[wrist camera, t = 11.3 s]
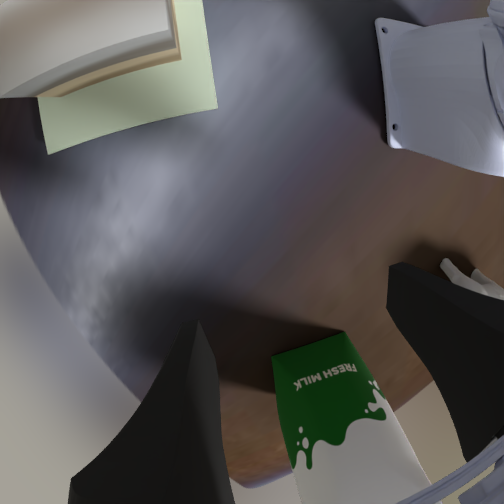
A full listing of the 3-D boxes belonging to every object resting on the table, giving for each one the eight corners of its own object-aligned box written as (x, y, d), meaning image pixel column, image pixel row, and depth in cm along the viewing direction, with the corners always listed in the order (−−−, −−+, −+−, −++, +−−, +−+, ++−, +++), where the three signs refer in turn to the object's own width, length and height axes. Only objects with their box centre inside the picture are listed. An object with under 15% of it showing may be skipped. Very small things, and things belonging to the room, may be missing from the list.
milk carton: (278, 403, 29) (326, 573, 11) (258, 351, 25) (319, 584, 7) (355, 376, 29) (429, 532, 11) (353, 319, 25) (467, 519, 7)
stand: (216, 108, 16) (217, 108, 14) (62, 149, 15) (48, 154, 13) (193, -53, 10) (192, -67, 8) (47, -7, 9) (34, -15, 8)
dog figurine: (473, 309, 29) (524, 363, 19) (411, 302, 25) (475, 379, 16) (493, 272, 26) (550, 322, 17) (436, 254, 23) (515, 323, 14)
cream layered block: (181, 60, 12) (168, 29, 7) (60, 97, 12) (-3, 98, 7) (172, -10, 10) (159, -64, 5) (54, 29, 10) (-4, 6, 5)
